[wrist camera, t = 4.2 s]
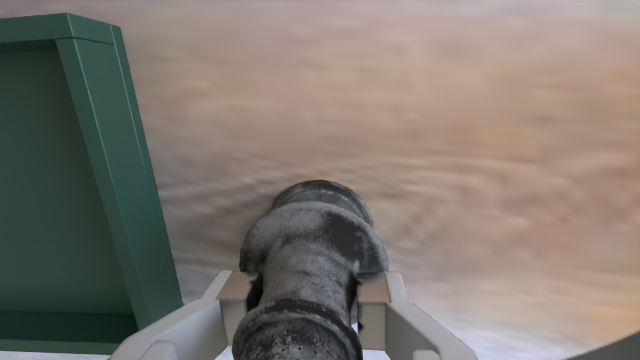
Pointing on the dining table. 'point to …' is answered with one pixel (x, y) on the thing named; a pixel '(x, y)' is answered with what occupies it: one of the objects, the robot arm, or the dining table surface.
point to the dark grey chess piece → (308, 275)
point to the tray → (75, 193)
